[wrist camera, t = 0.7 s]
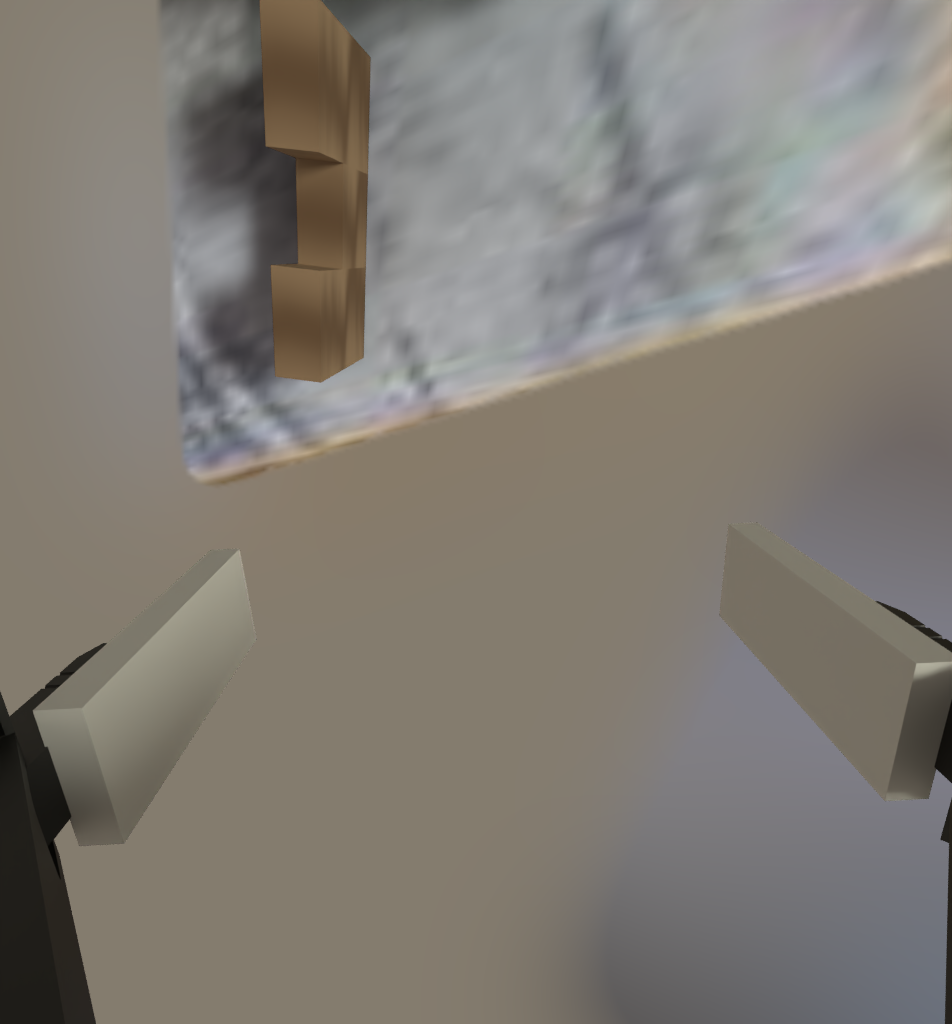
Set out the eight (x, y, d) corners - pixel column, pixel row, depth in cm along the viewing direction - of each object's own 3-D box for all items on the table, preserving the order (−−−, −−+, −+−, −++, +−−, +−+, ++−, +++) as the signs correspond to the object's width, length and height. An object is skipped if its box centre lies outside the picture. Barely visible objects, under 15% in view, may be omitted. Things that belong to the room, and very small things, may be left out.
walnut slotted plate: (325, 52, 31) (259, -9, 24) (370, 57, 31) (317, -4, 23) (326, 352, 38) (275, 376, 30) (363, 357, 37) (320, 382, 30)
